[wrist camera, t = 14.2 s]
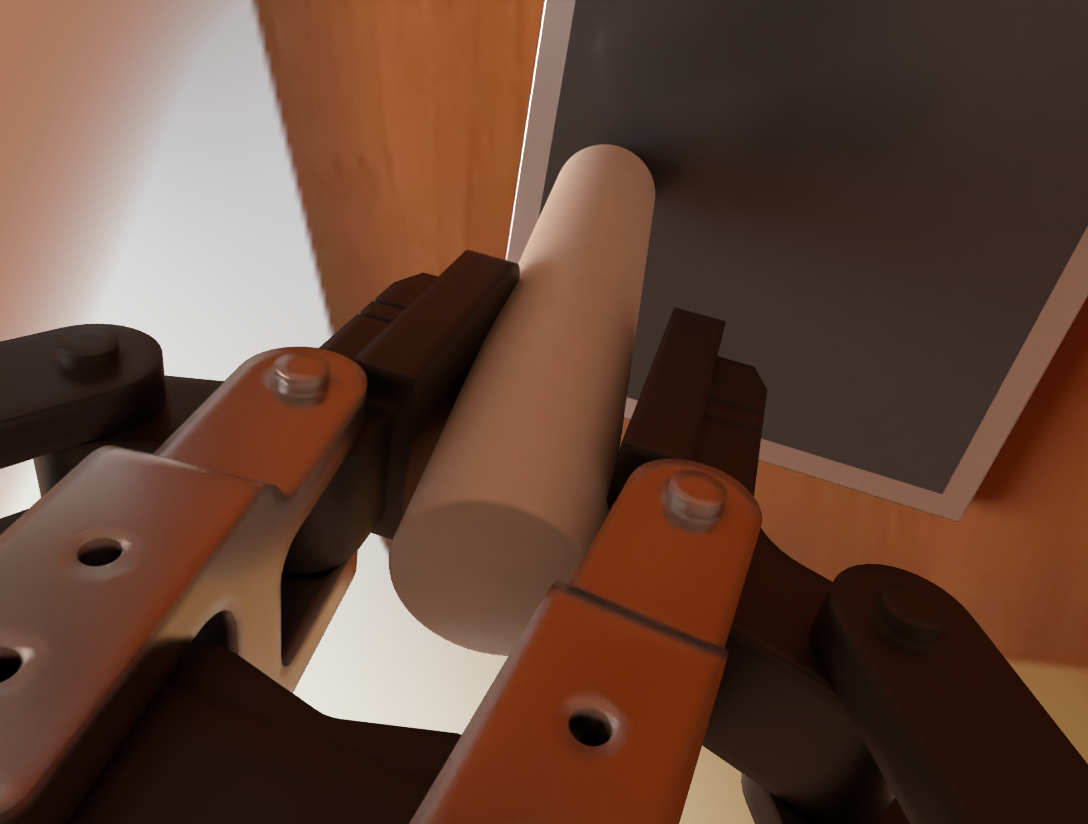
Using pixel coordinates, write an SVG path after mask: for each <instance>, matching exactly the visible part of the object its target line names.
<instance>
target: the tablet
mask: <svg viewBox="0 0 1088 824" xmlns="http://www.w3.org/2000/svg"><path fill="white" fill-rule="evenodd" d="M601 144H608V145H615V146H619V147H622V148H624V149H627V150H629V151H630V152H632V153H634V154H635V155H636V156H638V157H639V158H640V159H641V160H642V161H643V162H644V164H645V165H646V166H647V168H648V170H649V171H650V173H651V176H652V178H653V181H654V186H655V203H654V210H653V217H652V224H651V231H650V238H649V245H648V252H647V259H646V266H645V273H644V280H643V287H642V294H641V301H640V308H639V315H638V322H637V329H636V336H635V343H634V350H633V357H632V364H631V371H630V378H629V385H628V392H627V399H626V406H625V413H624V418H626V419H629V420H631V417H632V415H633V412H634V409H635V407H636V404H637V402H638V399H639V396H640V394H641V391H642V389H643V386H644V383H645V381H646V378H647V376H648V373H649V371H650V368H651V365H652V363H653V360H654V358H655V355H656V352H657V350H658V347H659V345H660V342H661V339H662V337H663V334H664V332H665V329H666V327H667V324H668V321H669V319H670V316H671V314H672V311H673V309H674V307H676V308H680V309H683V310H687V311H691V312H694V313H698V314H701V315H705V316H709V317H712V318H716V319H720V320H723V321H726V324H725V328H724V332H723V336H722V340H721V344H720V348H719V352H718V356H719V357H723V358H726V359H730V360H733V361H737V362H740V363H744V364H747V365H751V366H754V367H755V369H756V370H757V372H758V374H759V376H760V377H761V379H762V381H763V383H764V384H765V386H766V388H767V397H766V405H765V412H764V421H763V428H762V432H761V434H762V436H761V444H760V452H759V460H761V461H764V462H767V463H770V464H773V465H777V466H780V467H783V468H786V469H789V470H793V471H796V472H799V473H802V474H805V475H809V476H812V477H815V478H818V479H821V480H825V481H828V482H831V483H834V484H837V485H841V486H844V487H847V488H850V489H853V490H857V491H860V492H863V493H866V494H869V495H873V496H876V497H879V498H882V499H885V500H889V501H892V502H895V503H898V504H901V505H905V506H908V507H911V508H914V509H917V510H921V511H924V512H927V513H930V514H933V515H937V516H940V517H943V518H946V519H949V520H953V521H956V522H959V521H960V520H961V519H962V517H963V515H964V513H965V512H966V510H967V508H968V506H969V505H970V503H971V501H972V499H973V498H974V496H975V494H976V492H977V491H978V489H979V487H980V485H981V484H982V482H983V480H984V478H985V476H986V475H987V473H988V471H989V469H990V468H991V466H992V464H993V462H994V461H995V459H996V457H997V455H998V454H999V452H1000V450H1001V448H1002V447H1003V445H1004V443H1005V441H1006V440H1007V438H1008V436H1009V434H1010V433H1011V431H1012V429H1013V427H1014V426H1015V424H1016V422H1017V420H1018V419H1019V417H1020V415H1021V413H1022V411H1023V410H1024V408H1025V406H1026V404H1027V403H1028V401H1029V399H1030V397H1031V396H1032V394H1033V392H1034V390H1035V389H1036V387H1037V385H1038V383H1039V382H1040V380H1041V378H1042V376H1043V375H1044V373H1045V371H1046V369H1047V368H1048V366H1049V364H1050V362H1051V361H1052V359H1053V357H1054V355H1055V354H1056V352H1057V350H1058V348H1059V346H1060V345H1061V343H1062V341H1063V339H1064V338H1065V336H1066V334H1067V332H1068V331H1069V329H1070V327H1071V325H1072V324H1073V322H1074V320H1075V318H1076V317H1077V315H1078V313H1079V311H1080V310H1081V308H1082V306H1083V304H1084V303H1085V301H1086V299H1087V297H1088V0H544V1H543V8H542V15H541V21H540V28H539V35H538V41H537V48H536V55H535V61H534V68H533V75H532V81H531V88H530V95H529V101H528V108H527V115H526V121H525V128H524V135H523V141H522V148H521V155H520V161H519V168H518V175H517V181H516V188H515V195H514V201H513V208H512V215H511V221H510V228H509V234H508V241H507V248H506V254H505V260H507V261H511V262H514V263H519V261H520V259H521V256H522V254H523V252H524V250H525V248H526V245H527V243H528V241H529V239H530V237H531V234H532V232H533V230H534V228H535V226H536V223H537V221H538V219H539V217H540V215H541V212H542V210H543V208H544V206H545V204H546V201H547V199H548V197H549V195H550V193H551V190H552V188H553V186H554V184H555V182H556V179H557V177H558V175H559V173H560V171H561V169H562V167H563V166H564V164H565V163H566V162H567V161H568V160H569V159H570V158H571V157H572V156H573V155H574V154H576V153H577V152H579V151H580V150H582V149H585V148H587V147H590V146H594V145H601Z"/></svg>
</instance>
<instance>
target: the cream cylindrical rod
mask: <svg viewBox="0 0 1088 824" xmlns="http://www.w3.org/2000/svg"><path fill="white" fill-rule="evenodd" d="M654 203H655V186H654V181H653V178H652V176H651V173H650V171H649V170H648V168H647V166H646V165H645V164H644V162H643V161H642V160H641V159H640V158H639V157H638V156H636V155H635V154H634V153H632V152H630V151H629V150H627V149H624V148H622V147H619V146H615V145H608V144H601V145H594V146H590V147H587V148H585V149H582V150H580V151H579V152H577V153H576V154H574V155H573V156H572V157H571V158H570V159H569V160H568V161H567V162H566V163H565V164H564V166H563V167H562V169H561V171H560V173H559V175H558V177H557V179H556V182H555V184H554V186H553V188H552V190H551V193H550V195H549V197H548V199H547V201H546V204H545V206H544V208H543V210H542V212H541V215H540V217H539V219H538V221H537V223H536V226H535V228H534V230H533V232H532V234H531V237H530V239H529V241H528V243H527V245H526V248H525V250H524V252H523V254H522V256H521V259H520V261H519V263H518V265H519V268H520V279H519V282H518V283H517V285H516V286H515V288H514V289H513V291H512V293H511V294H510V296H509V298H508V299H507V301H506V303H505V304H504V306H503V308H502V310H501V311H500V313H499V315H498V316H497V318H496V320H495V322H494V323H493V325H492V327H491V329H490V331H489V332H488V334H487V336H486V338H485V340H484V342H483V344H482V346H481V348H480V350H479V352H478V354H477V356H476V358H475V360H474V362H473V364H472V366H471V369H470V371H469V373H468V375H467V377H466V380H465V382H464V384H463V386H462V388H461V391H460V393H459V395H458V397H457V399H456V402H455V404H454V406H453V408H452V410H451V413H450V415H449V417H448V419H447V421H446V424H445V426H444V428H443V430H442V432H441V435H440V437H439V439H438V441H437V443H436V446H435V448H434V450H433V452H432V454H431V457H430V459H429V461H428V463H427V465H426V468H425V470H424V472H423V474H422V476H421V479H420V481H419V483H418V485H417V487H416V490H415V492H414V494H413V496H412V498H411V501H410V503H409V505H408V507H407V509H406V512H405V514H404V516H403V518H402V520H401V523H400V525H399V527H398V529H397V531H396V534H395V536H394V538H393V541H392V544H391V547H390V553H389V570H390V575H391V580H392V583H393V585H394V588H395V590H396V592H397V594H398V596H399V598H400V600H401V601H402V602H403V604H404V605H405V607H406V608H407V609H408V611H409V612H410V613H411V614H412V615H413V616H414V617H415V618H416V619H417V620H418V621H419V622H421V623H422V624H423V625H424V626H425V627H427V628H428V629H429V630H431V631H432V632H434V633H436V634H437V635H439V636H440V637H442V638H444V639H446V640H448V641H450V642H452V643H454V644H457V645H459V646H462V647H464V648H467V649H471V650H474V651H478V652H483V653H488V654H493V655H504V656H509V655H510V653H511V651H512V650H513V648H514V646H515V645H516V643H517V641H518V640H519V638H520V636H521V635H522V633H523V631H524V630H525V628H526V626H527V624H528V623H529V621H530V619H531V618H532V616H533V614H534V613H535V611H536V609H537V608H538V606H539V604H540V603H541V601H542V599H543V598H544V596H545V594H546V593H547V591H548V590H549V588H550V587H551V586H552V584H553V583H554V582H555V581H556V580H558V579H560V580H563V581H565V582H567V583H569V582H570V581H571V579H572V577H573V575H574V574H575V572H576V570H577V568H578V567H579V565H580V563H581V561H582V560H583V558H584V556H585V554H586V553H587V551H588V549H589V547H590V546H591V544H592V542H593V540H594V538H595V537H596V535H597V533H598V531H599V530H600V528H601V526H602V524H603V523H604V521H605V519H606V517H607V516H608V514H609V509H608V503H607V496H608V492H609V489H610V485H611V481H612V477H613V474H614V470H615V466H616V462H617V459H618V455H619V448H620V441H621V434H622V427H623V420H624V413H625V406H626V399H627V392H628V385H629V378H630V371H631V364H632V357H633V350H634V343H635V336H636V329H637V322H638V315H639V308H640V301H641V294H642V287H643V280H644V273H645V266H646V259H647V252H648V245H649V238H650V231H651V224H652V217H653V210H654Z"/></svg>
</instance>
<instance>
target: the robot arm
mask: <svg viewBox="0 0 1088 824" xmlns="http://www.w3.org/2000/svg"><path fill="white" fill-rule="evenodd" d="M519 279H520V268H519V265H518V263H514V262H511V261H507V260H503V259H500V258H496V257H492V256H489V255H485V254H482V253H478V252H474V251H471V250H466V251H465V252H464V253H463V254H462V255H461V256H460V257H459V258H458V259H456V260H455V261H454V262H453V263H452V264H451V265H450V266H449V267H448V268H447V269H446V270H445V271H444V272H443V273H442V274H441V275H440V276H439V277H437V276H434V275H430V274H427V273H421V274H418V275H415V276H412V277H409V278H406V279H403V280H400V281H397V282H394V283H393V284H392V285H390V286H389V287H388V288H387V289H386V290H385V291H384V292H382V293H381V294H380V295H379V296H378V297H377V298H376V301H375V302H373V301H372V302H371V303H370V304H369V305H368V306H366V307H365V308H364V309H363V310H362V311H361V314H360V315H358V314H357V315H356V316H355V317H354V318H353V319H352V320H350V321H349V322H348V323H347V324H346V325H345V326H344V327H342V328H341V329H340V330H339V331H338V332H337V333H336V334H334V335H333V336H332V337H331V338H330V339H329V340H328V341H326V342H325V343H324V344H323V345H322V346H321V347H320V348H311V347H285V348H279V349H273V350H269V351H266V352H262V353H260V354H257V355H255V356H253V357H251V358H250V359H248V360H246V361H245V362H244V363H243V364H242V365H241V366H239V367H238V368H237V370H235V371H234V373H232V375H230V376H229V378H227V379H226V381H214V380H204V379H194V378H184V377H173V376H164V367H163V357H162V349H161V347H160V345H159V344H158V343H157V341H156V340H155V339H153V338H152V337H151V336H149V335H147V334H145V333H143V332H141V331H138V330H136V329H133V328H129V327H124V326H118V325H110V324H84V325H75V326H69V327H64V328H59V329H55V330H50V331H46V332H41V333H37V334H33V335H28V336H24V337H19V338H15V339H10V340H6V341H1V342H0V469H1V468H5V467H8V466H11V465H14V464H17V463H20V462H24V461H26V460H30V459H34V464H35V469H36V474H37V479H38V483H39V488H40V493H41V499H40V500H38V501H37V502H36V503H35V504H34V505H33V506H32V507H31V508H30V509H27V510H24V511H21V512H19V513H16V514H13V515H10V516H7V517H4V518H1V519H0V824H679V822H680V818H681V815H682V811H683V808H684V805H685V801H686V798H687V795H688V791H689V788H690V784H691V781H692V777H693V774H694V771H695V767H696V764H697V760H698V757H699V753H700V750H701V747H702V745H703V746H704V747H706V748H707V749H708V750H710V751H711V752H713V753H714V754H716V755H717V756H719V757H720V758H721V759H723V760H725V761H726V762H727V763H729V764H730V765H732V766H733V767H734V768H736V769H737V770H739V771H740V772H742V779H741V783H742V789H743V794H744V797H745V800H746V803H747V805H748V808H749V810H750V812H751V815H752V818H753V820H754V822H755V824H1088V764H1087V763H1086V761H1085V760H1084V759H1083V758H1082V756H1081V755H1080V754H1079V753H1078V751H1077V750H1076V749H1075V747H1074V746H1073V745H1072V744H1071V742H1070V741H1069V740H1068V738H1067V737H1066V736H1065V735H1064V733H1063V732H1062V731H1061V729H1060V728H1059V727H1058V726H1057V724H1056V723H1055V722H1054V720H1053V719H1052V718H1051V717H1050V715H1049V714H1048V713H1047V712H1046V710H1045V709H1044V708H1043V706H1042V705H1041V704H1040V703H1039V701H1038V700H1037V699H1036V697H1035V696H1034V695H1033V694H1032V692H1031V691H1030V690H1029V688H1028V687H1027V686H1026V685H1025V683H1024V682H1023V681H1022V680H1021V678H1020V677H1019V676H1018V674H1017V673H1016V672H1015V671H1014V669H1013V668H1012V667H1011V665H1010V664H1009V663H1008V662H1007V660H1006V659H1005V658H1004V656H1003V655H1002V654H1001V653H1000V651H999V650H998V649H997V648H996V646H995V645H994V644H993V642H992V641H991V640H990V639H989V637H988V636H987V635H986V633H985V632H984V631H983V630H982V628H981V627H980V626H979V625H978V623H977V622H976V621H975V619H974V618H973V617H972V616H971V614H970V613H969V612H968V611H967V610H966V609H965V608H964V607H963V606H962V605H961V604H960V603H959V602H958V601H957V600H956V599H955V598H954V597H952V596H951V595H950V594H948V593H947V592H946V591H944V590H943V589H942V588H940V587H938V586H937V585H935V584H934V583H932V582H930V581H928V580H926V579H924V578H922V577H920V576H918V575H916V574H913V573H911V572H908V571H906V570H903V569H899V568H895V567H892V566H886V565H880V564H863V565H857V566H853V567H849V568H847V569H846V570H844V571H842V572H841V573H840V574H839V575H838V576H837V577H836V578H835V579H834V581H833V582H832V581H830V580H828V579H826V578H825V577H823V576H821V575H819V574H817V573H816V572H814V571H812V570H810V569H808V568H807V567H805V566H803V565H802V564H800V563H798V562H797V561H795V560H793V559H792V558H791V557H789V556H788V555H787V554H785V553H784V552H783V551H781V550H780V549H779V548H778V547H777V546H776V545H775V544H774V543H773V542H772V541H771V540H770V539H769V538H768V537H767V535H766V534H765V533H764V532H763V530H762V528H761V524H762V514H761V510H760V507H759V505H758V503H757V501H756V500H755V498H754V491H755V483H756V475H757V467H758V460H759V452H760V444H761V436H762V434H761V432H762V428H763V421H764V412H765V405H766V397H767V388H766V386H765V384H764V383H763V381H762V379H761V377H760V376H759V374H758V372H757V370H756V369H755V367H754V366H751V365H747V364H744V363H740V362H737V361H733V360H730V359H726V358H723V357H719V356H718V352H719V348H720V344H721V340H722V336H723V332H724V328H725V324H726V321H723V320H720V319H716V318H712V317H709V316H705V315H701V314H698V313H694V312H691V311H687V310H683V309H680V308H676V307H674V309H673V311H672V314H671V316H670V319H669V321H668V324H667V327H666V329H665V332H664V334H663V337H662V339H661V342H660V345H659V347H658V350H657V352H656V355H655V358H654V360H653V363H652V365H651V368H650V371H649V373H648V376H647V378H646V381H645V383H644V386H643V389H642V391H641V394H640V396H639V399H638V402H637V404H636V407H635V409H634V412H633V415H632V417H631V420H630V422H629V425H628V428H627V430H626V433H625V435H624V438H623V440H622V443H621V447H620V451H619V455H618V459H617V462H616V466H615V470H614V474H613V477H612V481H611V485H610V489H609V492H608V496H607V503H608V509H609V514H608V516H607V517H606V519H605V521H604V523H603V524H602V526H601V528H600V530H599V531H598V533H597V535H596V537H595V538H594V540H593V542H592V544H591V546H590V547H589V549H588V551H587V553H586V554H585V556H584V558H583V560H582V561H581V563H580V565H579V567H578V568H577V570H576V572H575V574H574V575H573V577H572V579H571V581H570V582H569V583H567V582H565V581H563V580H560V579H558V580H556V581H555V582H554V583H553V584H552V586H551V587H550V588H549V590H548V591H547V593H546V594H545V596H544V598H543V599H542V601H541V603H540V604H539V606H538V608H537V609H536V611H535V613H534V614H533V616H532V618H531V619H530V621H529V623H528V624H527V626H526V628H525V630H524V631H523V633H522V635H521V636H520V638H519V640H518V641H517V643H516V645H515V646H514V648H513V650H512V651H511V653H510V655H509V656H508V658H507V660H506V662H505V663H504V665H503V667H502V668H501V670H500V672H499V673H498V675H497V677H496V678H495V680H494V682H493V683H492V685H491V687H490V688H489V690H488V692H487V694H486V695H485V697H484V699H483V700H482V702H481V704H480V705H479V707H478V709H477V711H476V712H475V714H474V715H473V717H472V719H471V721H470V722H469V724H468V726H467V727H466V729H465V731H464V732H463V734H462V735H460V734H457V733H449V732H441V731H433V730H425V729H417V728H408V727H400V726H392V725H384V724H376V723H368V722H359V721H350V720H343V719H337V718H332V717H329V716H327V715H324V714H322V713H320V712H319V711H317V710H315V709H314V708H313V707H311V706H310V705H308V704H307V703H305V702H304V701H302V700H301V699H300V698H298V697H297V696H295V695H294V694H293V692H294V690H295V688H296V686H297V684H298V682H299V680H300V678H301V676H302V674H303V672H304V671H305V669H306V667H307V665H308V663H309V661H310V659H311V657H312V655H313V653H314V652H315V650H316V648H317V646H318V644H319V642H320V640H321V638H322V636H323V634H324V633H325V631H326V629H327V627H328V624H329V623H330V621H331V619H332V617H333V615H334V614H335V612H336V610H337V608H338V606H339V604H340V602H341V600H342V598H343V596H344V595H345V593H346V590H347V589H348V587H349V585H350V583H351V581H352V579H353V577H354V575H355V572H356V564H357V550H358V549H359V548H360V546H361V545H362V543H363V542H364V541H365V539H366V538H367V537H368V535H369V534H370V532H371V533H374V534H377V535H380V536H383V537H386V538H389V539H392V540H393V538H394V536H395V534H396V531H397V529H398V527H399V525H400V523H401V520H402V518H403V516H404V514H405V512H406V509H407V507H408V505H409V503H410V501H411V498H412V496H413V494H414V492H415V490H416V487H417V485H418V483H419V481H420V479H421V476H422V474H423V472H424V470H425V468H426V465H427V463H428V461H429V459H430V457H431V454H432V452H433V450H434V448H435V446H436V443H437V441H438V439H439V437H440V435H441V432H442V430H443V428H444V426H445V424H446V421H447V419H448V417H449V415H450V413H451V410H452V408H453V406H454V404H455V402H456V399H457V397H458V395H459V393H460V391H461V388H462V386H463V384H464V382H465V380H466V377H467V375H468V373H469V371H470V369H471V366H472V364H473V362H474V360H475V358H476V356H477V354H478V352H479V350H480V348H481V346H482V344H483V342H484V340H485V338H486V336H487V334H488V332H489V331H490V329H491V327H492V325H493V323H494V322H495V320H496V318H497V316H498V315H499V313H500V311H501V310H502V308H503V306H504V304H505V303H506V301H507V299H508V298H509V296H510V294H511V293H512V291H513V289H514V288H515V286H516V285H517V283H518V282H519Z"/></svg>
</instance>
